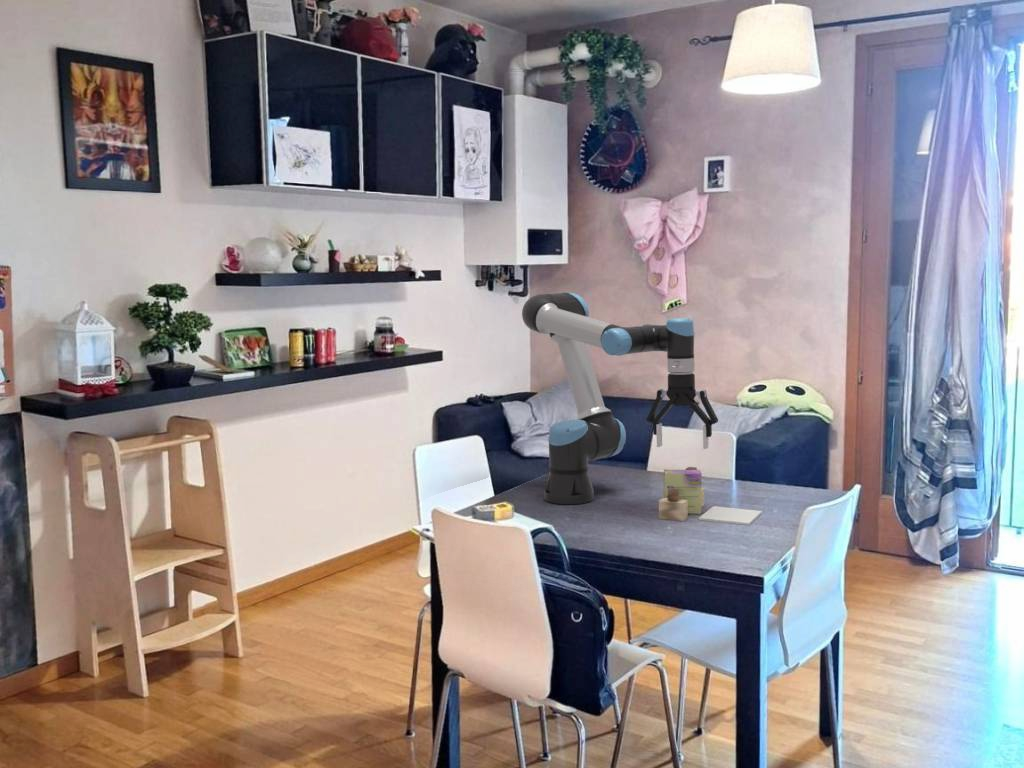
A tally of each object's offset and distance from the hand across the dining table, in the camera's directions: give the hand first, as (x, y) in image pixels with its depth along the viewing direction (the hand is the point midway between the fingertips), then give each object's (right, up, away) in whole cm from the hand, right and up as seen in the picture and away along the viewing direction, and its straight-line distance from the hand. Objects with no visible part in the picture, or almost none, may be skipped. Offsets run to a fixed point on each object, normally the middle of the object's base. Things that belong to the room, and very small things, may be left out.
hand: (682, 447), depth 282 cm
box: (0, -19, +1) cm, 19 cm away
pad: (+12, -19, -6) cm, 23 cm away
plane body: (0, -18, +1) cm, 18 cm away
